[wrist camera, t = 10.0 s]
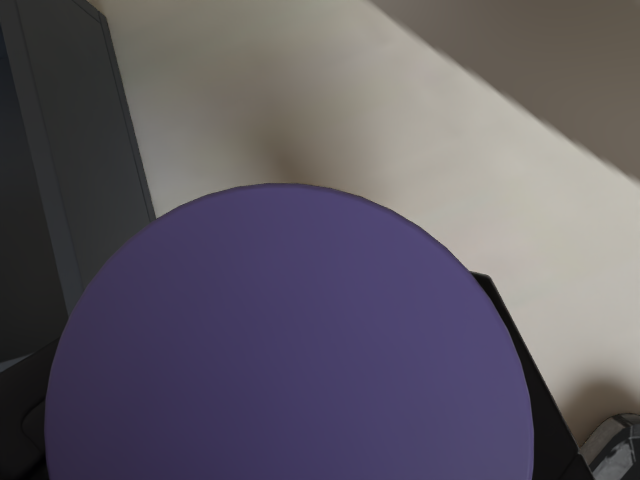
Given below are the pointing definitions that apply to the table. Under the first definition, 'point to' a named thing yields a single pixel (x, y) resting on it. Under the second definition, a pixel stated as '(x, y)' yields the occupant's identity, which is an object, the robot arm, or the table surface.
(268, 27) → the table surface
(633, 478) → the phone
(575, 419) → the table surface
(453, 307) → the glue stick
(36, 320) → the organizer
